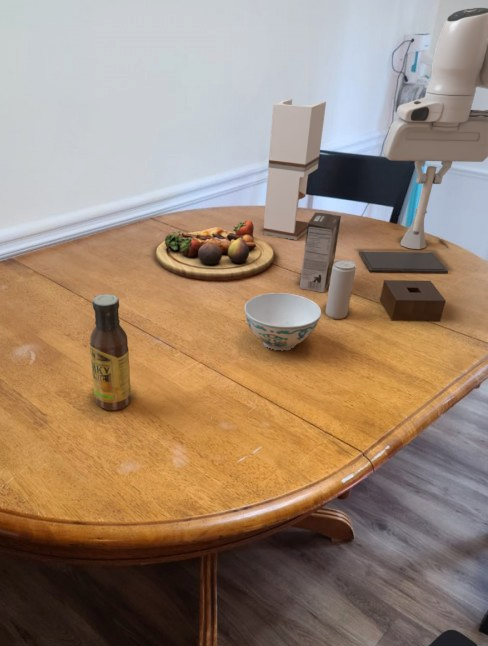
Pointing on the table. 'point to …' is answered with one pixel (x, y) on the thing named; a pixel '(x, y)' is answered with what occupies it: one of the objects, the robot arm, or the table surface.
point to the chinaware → (281, 319)
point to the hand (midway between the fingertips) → (428, 183)
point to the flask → (414, 237)
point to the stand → (412, 300)
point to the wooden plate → (215, 253)
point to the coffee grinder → (291, 165)
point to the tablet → (402, 262)
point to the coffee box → (319, 251)
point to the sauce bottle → (109, 355)
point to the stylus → (424, 200)
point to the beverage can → (340, 289)
